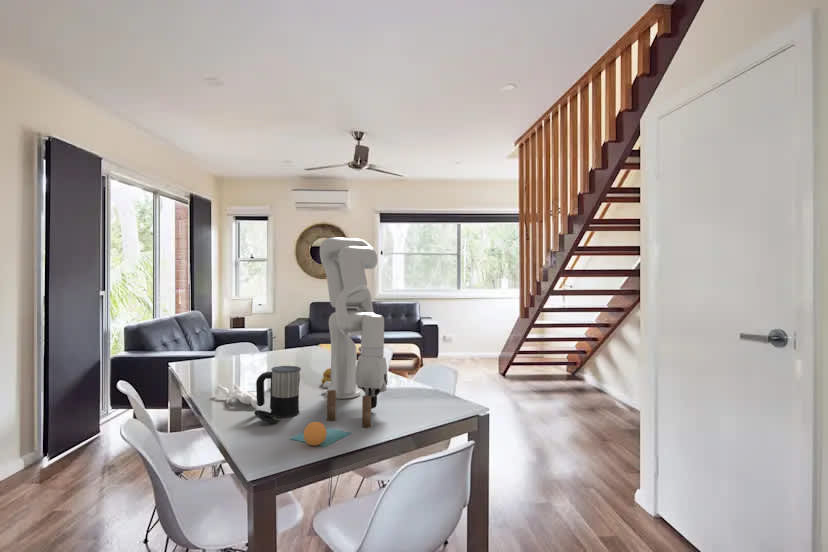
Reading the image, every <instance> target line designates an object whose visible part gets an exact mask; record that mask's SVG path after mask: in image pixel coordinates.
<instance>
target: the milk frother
mask: <svg viewBox="0 0 828 552" xmlns="http://www.w3.org/2000/svg"><path fill="white" fill-rule="evenodd" d="M270 370H271V371H265V372H263V373H261V374H260V375H259V376H258V377H257V378H256V383H255V387H256V390H255V391H256V392H257V405H258V407H263V405H264V404H266V403H265V380H266V379H267V380H268V379H269V380H270V392H269V393H270V397H269V398H270V400H269V401H270V403H269V409H270V411H265V410H261V409H257V410H255V411H254V413H253V414H254V416H255V417H257V418H258V419H260V420H262V421H264V422H265V423H267V424H269V425H270V424H271V423H278V422H279V419H280V418H290V417H294V416H298V415H299V414H300V407H299V405H300V404H299V401H300V400H299V399H300V398H299V396H300V384H299V383H300V382H299V373H300V371H301V370H302V368H301V367H300V366H297V365H279V366H274V367H272V368H271V369H270Z"/></svg>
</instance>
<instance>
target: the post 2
mask: <svg viewBox="0 0 828 552" xmlns="http://www.w3.org/2000/svg"><path fill="white" fill-rule="evenodd" d="M361 401H362V405H361V406H362V408H361V411H362V413H361V414H362V416H361V418H362V419H361V427H362V428H363V429H368V428H371V427H372V409H371V396H370V395H365V394H364V395H362V400H361Z"/></svg>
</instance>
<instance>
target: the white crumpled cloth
mask: <svg viewBox="0 0 828 552" xmlns="http://www.w3.org/2000/svg"><path fill="white" fill-rule="evenodd" d="M220 391H221V392H222V394H224V395H225V397H226V399H225V402H226V404H230V403H231V404H233V401H232V400H236V399H237V400H239V401H240V402H241V403H242V404H244V405H246V404H247V405H248V404H250V405H251V406H252V407H253V408H258V407H259V406H258V405H257V392H256V390H255V391H247V389H243V388H242V387H241V386H239V385H237V383H234V384H233V390H232V391H229V389H228V388H227V387H224V386H223V385H221V384H217V386H216V388H215V390H214V394H215V396H218V395H219V394H220Z"/></svg>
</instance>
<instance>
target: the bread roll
mask: <svg viewBox="0 0 828 552" xmlns="http://www.w3.org/2000/svg"><path fill="white" fill-rule="evenodd" d="M322 375H323V378H322V379H321V384H322V385H323V384H324V383H325V381H330V382H331V367H329V368H326V370H324V372H323V374H322Z"/></svg>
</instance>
